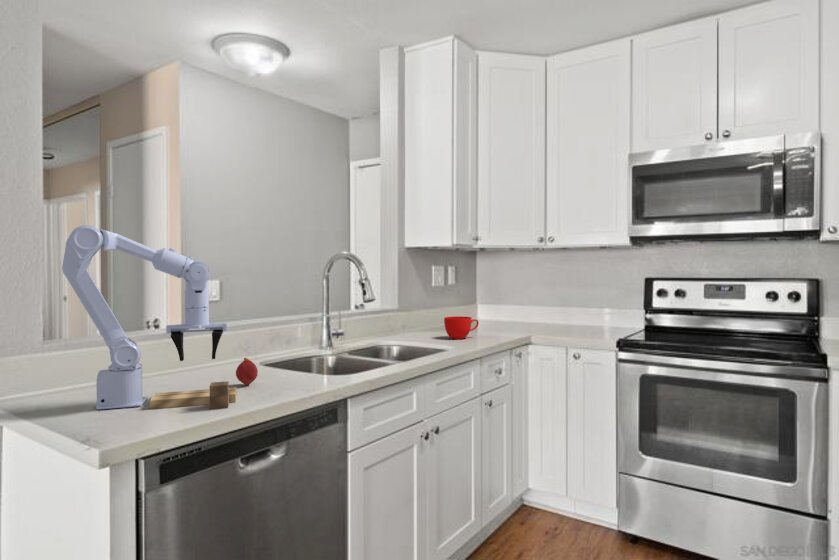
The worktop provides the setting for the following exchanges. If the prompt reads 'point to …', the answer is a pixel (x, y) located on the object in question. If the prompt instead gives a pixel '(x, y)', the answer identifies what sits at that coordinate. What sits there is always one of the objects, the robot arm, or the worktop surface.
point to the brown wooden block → (219, 395)
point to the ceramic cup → (458, 326)
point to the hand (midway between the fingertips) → (197, 359)
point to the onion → (246, 372)
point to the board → (186, 398)
